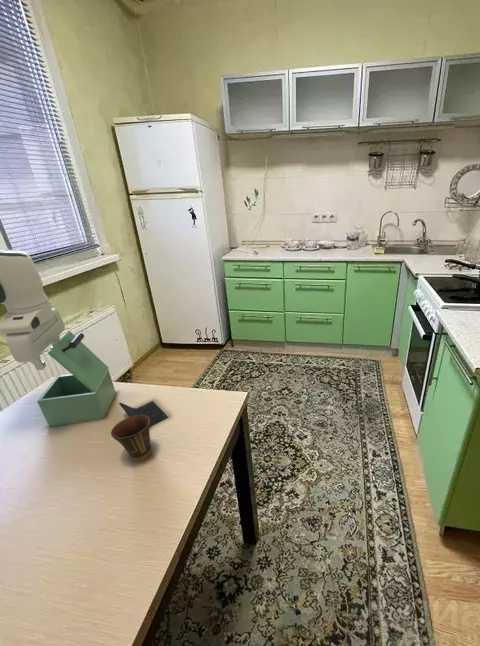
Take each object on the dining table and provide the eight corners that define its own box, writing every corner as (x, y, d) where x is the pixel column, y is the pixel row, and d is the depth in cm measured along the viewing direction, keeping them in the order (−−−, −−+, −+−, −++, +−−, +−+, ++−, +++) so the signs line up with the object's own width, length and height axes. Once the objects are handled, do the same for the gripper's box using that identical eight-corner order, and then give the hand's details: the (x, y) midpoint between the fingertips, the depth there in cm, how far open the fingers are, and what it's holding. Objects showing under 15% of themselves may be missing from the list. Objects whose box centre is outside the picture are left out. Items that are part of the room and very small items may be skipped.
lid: (47, 353, 82) (63, 343, 82) (67, 332, 93) (81, 323, 93) (93, 393, 90) (108, 383, 89) (106, 369, 101) (120, 360, 100)
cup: (136, 438, 87) (126, 409, 83) (165, 444, 85) (157, 414, 81) (112, 464, 80) (101, 433, 75) (143, 471, 78) (133, 440, 73)
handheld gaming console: (174, 410, 95) (146, 398, 87) (161, 434, 92) (132, 423, 85) (153, 401, 102) (126, 389, 94) (140, 422, 99) (112, 412, 92)
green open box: (50, 428, 92) (37, 401, 87) (67, 401, 103) (57, 375, 98) (105, 420, 94) (95, 393, 90) (116, 395, 105) (108, 369, 101)
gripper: (37, 300, 92) (53, 343, 98) (-6, 331, 74) (17, 381, 80) (62, 299, 93) (76, 341, 99) (25, 328, 75) (45, 378, 81)
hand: (49, 359), depth 89 cm, fingers open, 8 cm apart
